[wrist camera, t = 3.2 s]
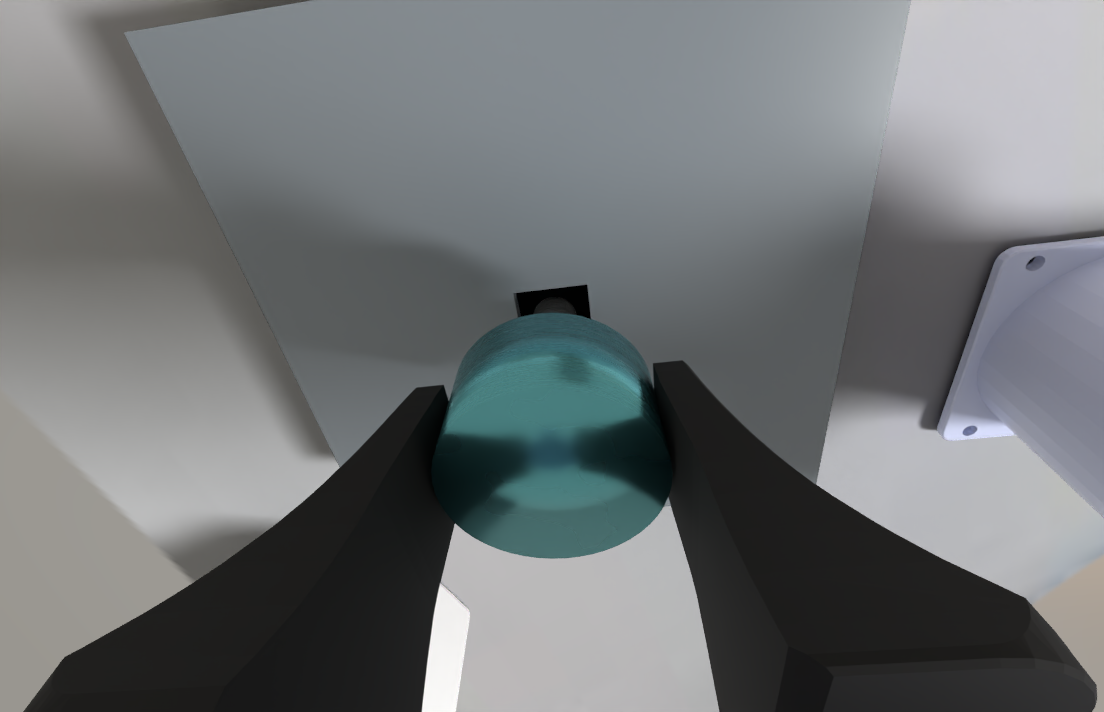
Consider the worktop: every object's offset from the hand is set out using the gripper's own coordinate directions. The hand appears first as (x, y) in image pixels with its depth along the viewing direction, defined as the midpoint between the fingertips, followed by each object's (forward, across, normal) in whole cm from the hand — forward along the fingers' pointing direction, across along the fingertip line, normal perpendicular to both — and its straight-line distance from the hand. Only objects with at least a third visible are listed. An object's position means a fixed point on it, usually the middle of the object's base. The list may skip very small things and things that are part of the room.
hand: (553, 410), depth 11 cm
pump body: (+7, 0, 0) cm, 7 cm away
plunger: (+4, 0, 0) cm, 4 cm away
